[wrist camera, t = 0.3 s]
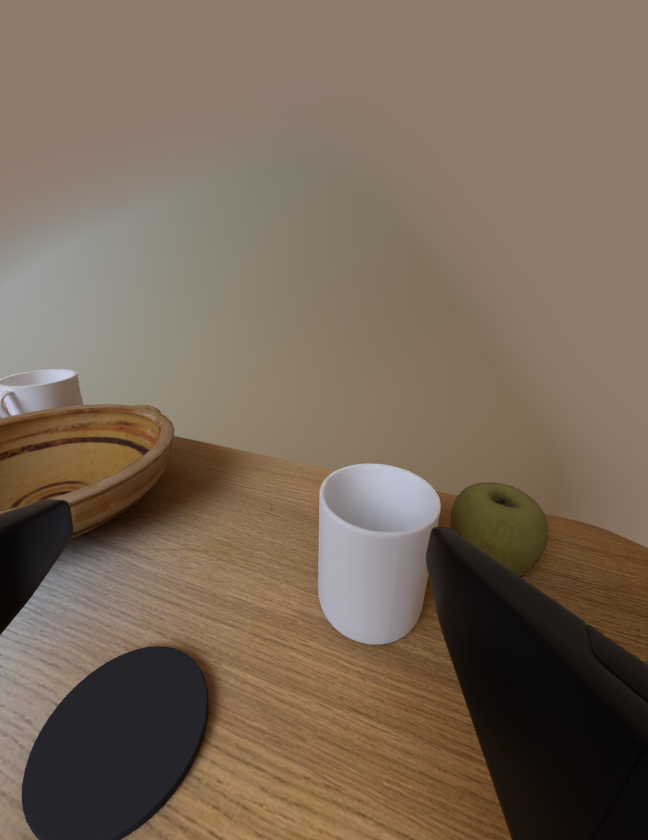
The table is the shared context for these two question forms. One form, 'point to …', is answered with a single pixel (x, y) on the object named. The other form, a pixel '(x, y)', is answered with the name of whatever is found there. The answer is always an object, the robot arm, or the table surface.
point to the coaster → (116, 747)
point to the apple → (501, 524)
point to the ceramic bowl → (83, 459)
